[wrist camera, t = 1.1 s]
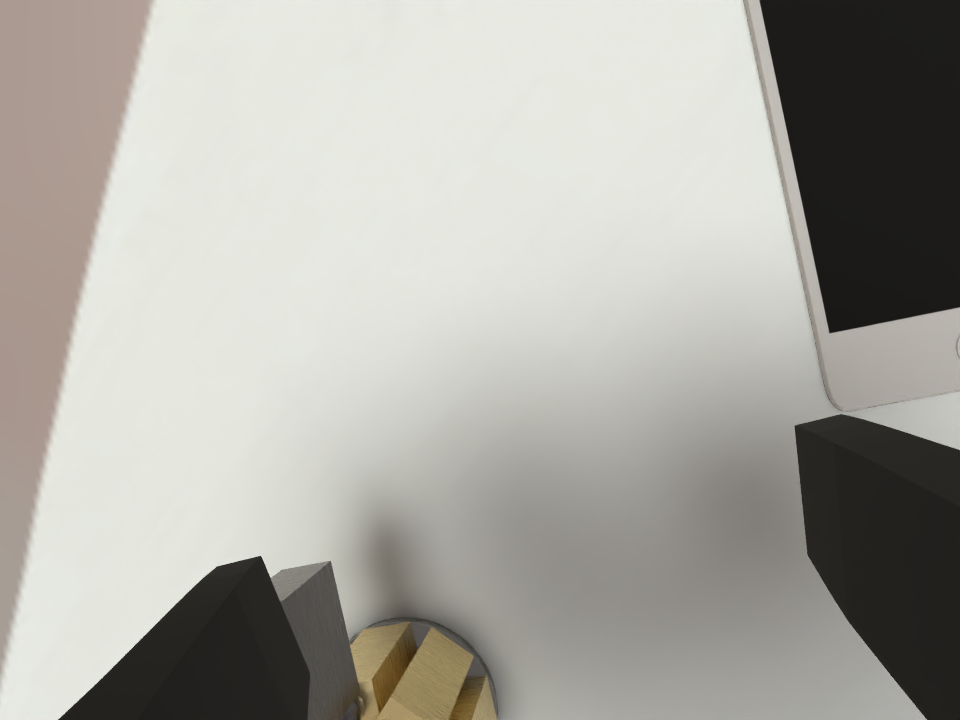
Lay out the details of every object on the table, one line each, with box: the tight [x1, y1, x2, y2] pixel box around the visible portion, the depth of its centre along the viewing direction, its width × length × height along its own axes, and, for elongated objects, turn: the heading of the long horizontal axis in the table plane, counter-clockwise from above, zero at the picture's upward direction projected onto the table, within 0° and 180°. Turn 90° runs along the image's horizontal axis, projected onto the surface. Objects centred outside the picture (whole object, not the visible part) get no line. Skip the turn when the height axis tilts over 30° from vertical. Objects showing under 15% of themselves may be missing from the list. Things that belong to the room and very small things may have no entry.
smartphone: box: [743, 0, 960, 411], centre depth 18 cm, size 7×16×1 cm, turn 12°
